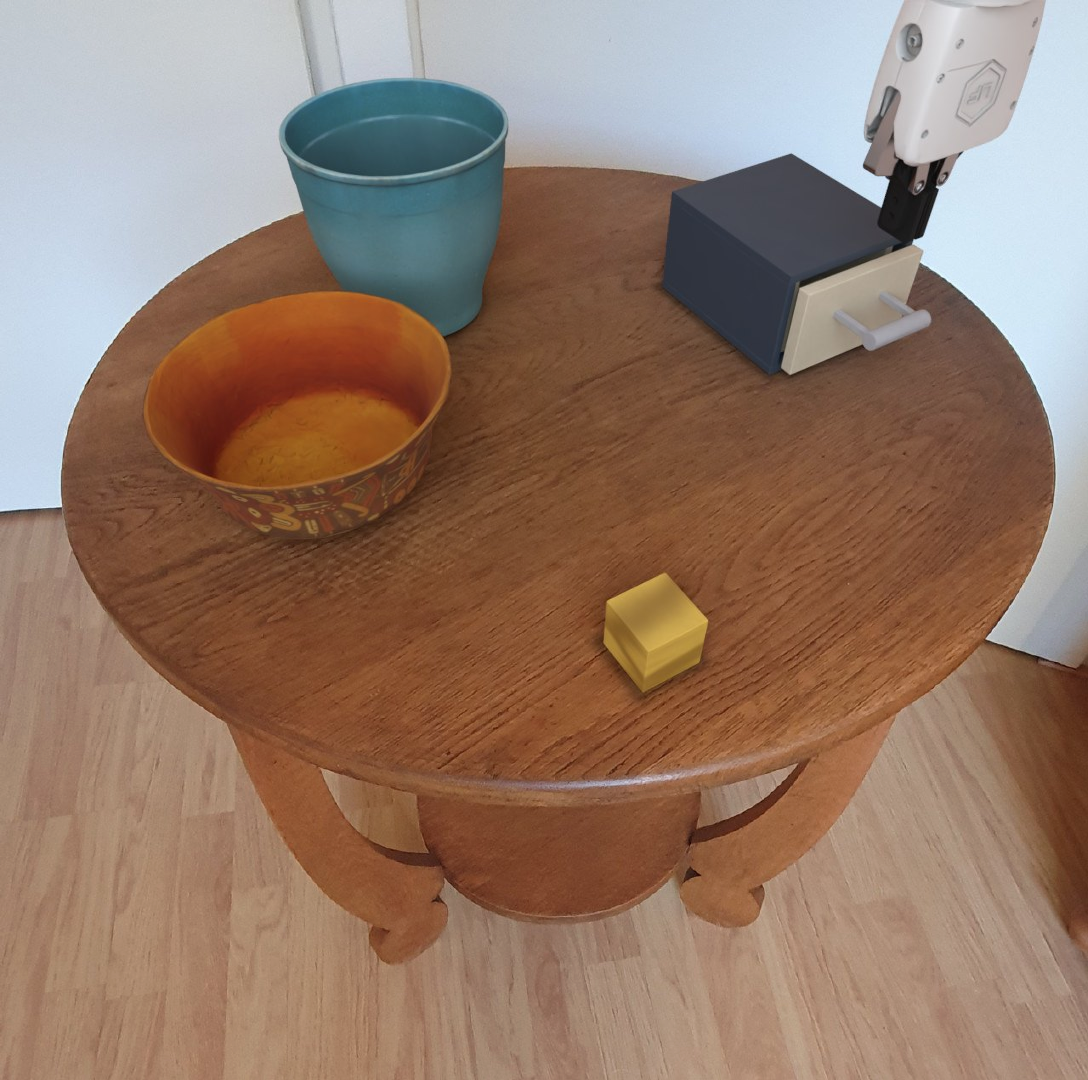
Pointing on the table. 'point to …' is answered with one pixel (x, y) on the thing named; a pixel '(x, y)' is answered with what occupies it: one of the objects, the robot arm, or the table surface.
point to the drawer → (853, 308)
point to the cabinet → (763, 247)
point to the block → (654, 631)
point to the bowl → (302, 409)
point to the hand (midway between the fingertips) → (899, 232)
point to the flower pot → (403, 189)
